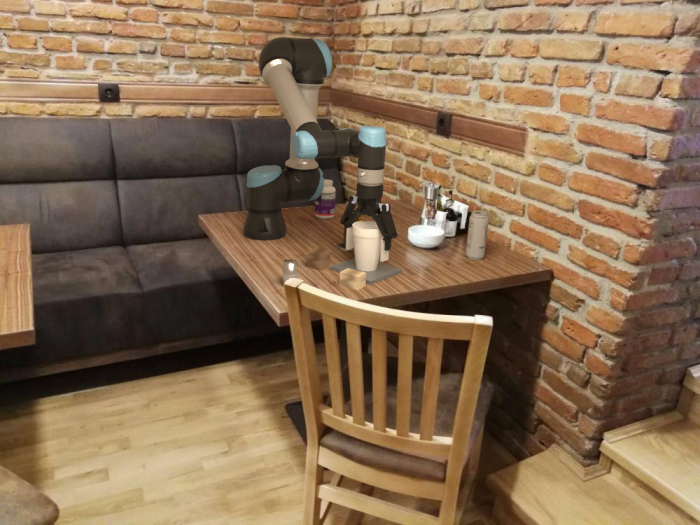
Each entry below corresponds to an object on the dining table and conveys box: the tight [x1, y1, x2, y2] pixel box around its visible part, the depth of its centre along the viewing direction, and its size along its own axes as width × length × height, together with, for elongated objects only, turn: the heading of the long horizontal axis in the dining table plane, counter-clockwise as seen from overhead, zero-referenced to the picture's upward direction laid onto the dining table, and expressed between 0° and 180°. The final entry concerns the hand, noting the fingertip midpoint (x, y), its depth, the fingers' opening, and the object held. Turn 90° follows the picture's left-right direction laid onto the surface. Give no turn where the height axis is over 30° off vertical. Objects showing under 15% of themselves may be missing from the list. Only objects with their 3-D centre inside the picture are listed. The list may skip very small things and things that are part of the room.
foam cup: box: [352, 220, 384, 271], centre depth 163 cm, size 10×9×13 cm
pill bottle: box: [314, 178, 337, 220], centre depth 217 cm, size 8×8×14 cm
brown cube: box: [306, 246, 331, 271], centre depth 166 cm, size 5×5×5 cm
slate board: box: [329, 257, 403, 286], centre depth 165 cm, size 16×14×1 cm
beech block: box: [339, 268, 367, 291], centre depth 154 cm, size 6×4×4 cm, turn 58°
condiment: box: [333, 209, 363, 252], centre depth 184 cm, size 7×8×12 cm
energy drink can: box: [465, 210, 490, 261], centre depth 177 cm, size 6×6×15 cm
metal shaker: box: [282, 258, 299, 288], centre depth 151 cm, size 4×4×7 cm
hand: (366, 254), depth 163 cm, fingers open, 13 cm apart
